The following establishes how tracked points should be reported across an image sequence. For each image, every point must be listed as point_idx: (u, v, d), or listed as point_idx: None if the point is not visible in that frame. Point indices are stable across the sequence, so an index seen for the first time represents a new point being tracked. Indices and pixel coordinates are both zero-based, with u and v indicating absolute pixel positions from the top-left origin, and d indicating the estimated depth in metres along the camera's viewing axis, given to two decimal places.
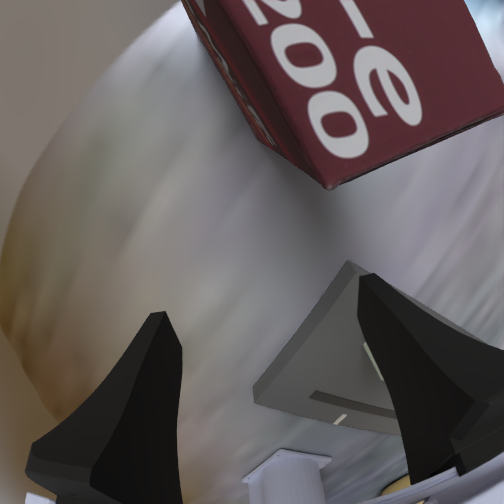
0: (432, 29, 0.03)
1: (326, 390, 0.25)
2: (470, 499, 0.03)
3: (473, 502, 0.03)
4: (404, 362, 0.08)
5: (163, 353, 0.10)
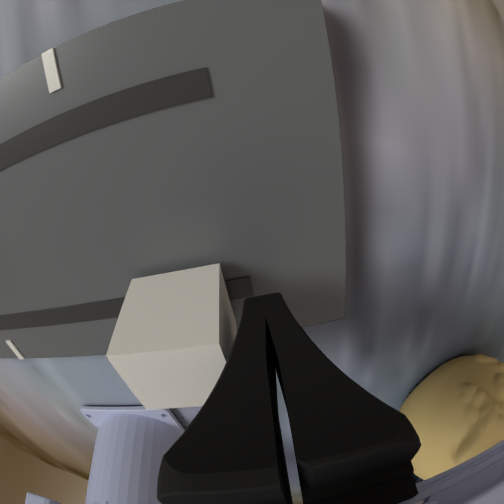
0: None
1: None
2: (470, 499, 0.03)
3: (473, 502, 0.03)
4: (284, 392, 0.08)
5: (269, 338, 0.10)
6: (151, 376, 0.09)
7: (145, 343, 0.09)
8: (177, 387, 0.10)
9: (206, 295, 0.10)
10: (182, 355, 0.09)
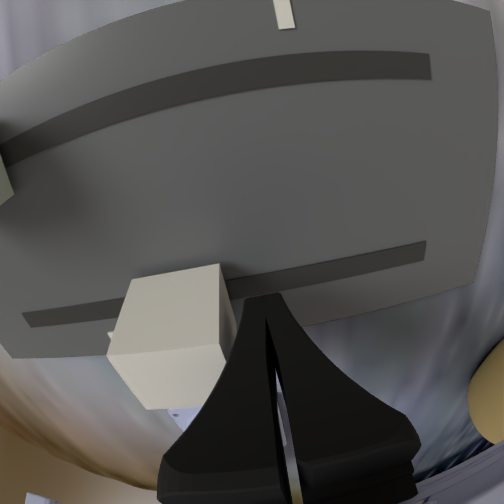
0: None
1: (29, 305, 0.13)
2: (470, 499, 0.03)
3: (473, 502, 0.03)
4: (284, 392, 0.08)
5: (269, 338, 0.10)
6: (150, 376, 0.09)
7: (144, 343, 0.09)
8: (177, 387, 0.10)
9: (206, 295, 0.10)
10: (182, 354, 0.09)
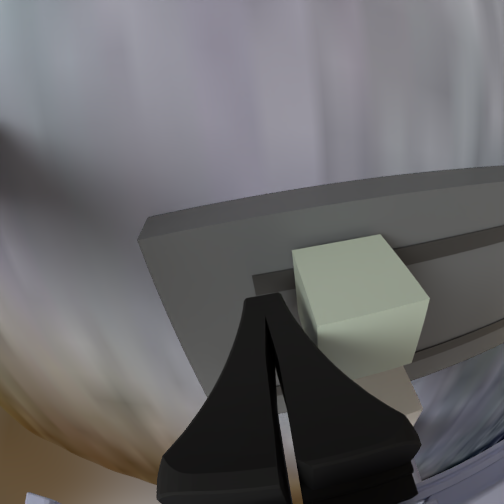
0: None
1: None
2: (470, 499, 0.03)
3: (473, 502, 0.03)
4: None
5: (268, 338, 0.10)
6: None
7: None
8: None
9: (400, 378, 0.15)
10: None
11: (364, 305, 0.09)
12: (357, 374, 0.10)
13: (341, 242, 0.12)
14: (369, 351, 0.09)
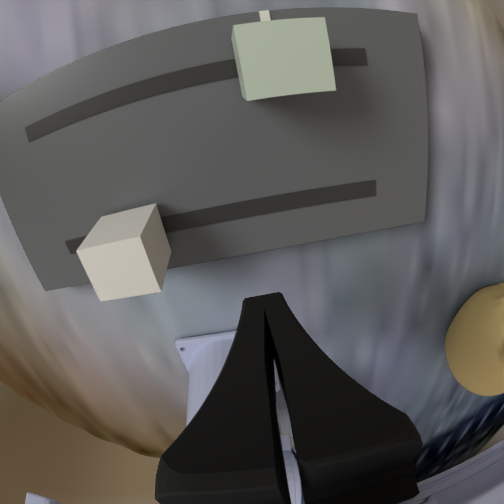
0: None
1: (73, 233, 0.18)
2: (470, 499, 0.03)
3: (473, 502, 0.03)
4: (285, 391, 0.08)
5: (267, 338, 0.10)
6: (102, 266, 0.15)
7: (99, 242, 0.14)
8: (118, 276, 0.15)
9: (141, 217, 0.16)
10: (119, 246, 0.14)
11: (271, 22, 0.10)
12: (281, 88, 0.11)
13: None
14: (284, 59, 0.11)
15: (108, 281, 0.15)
